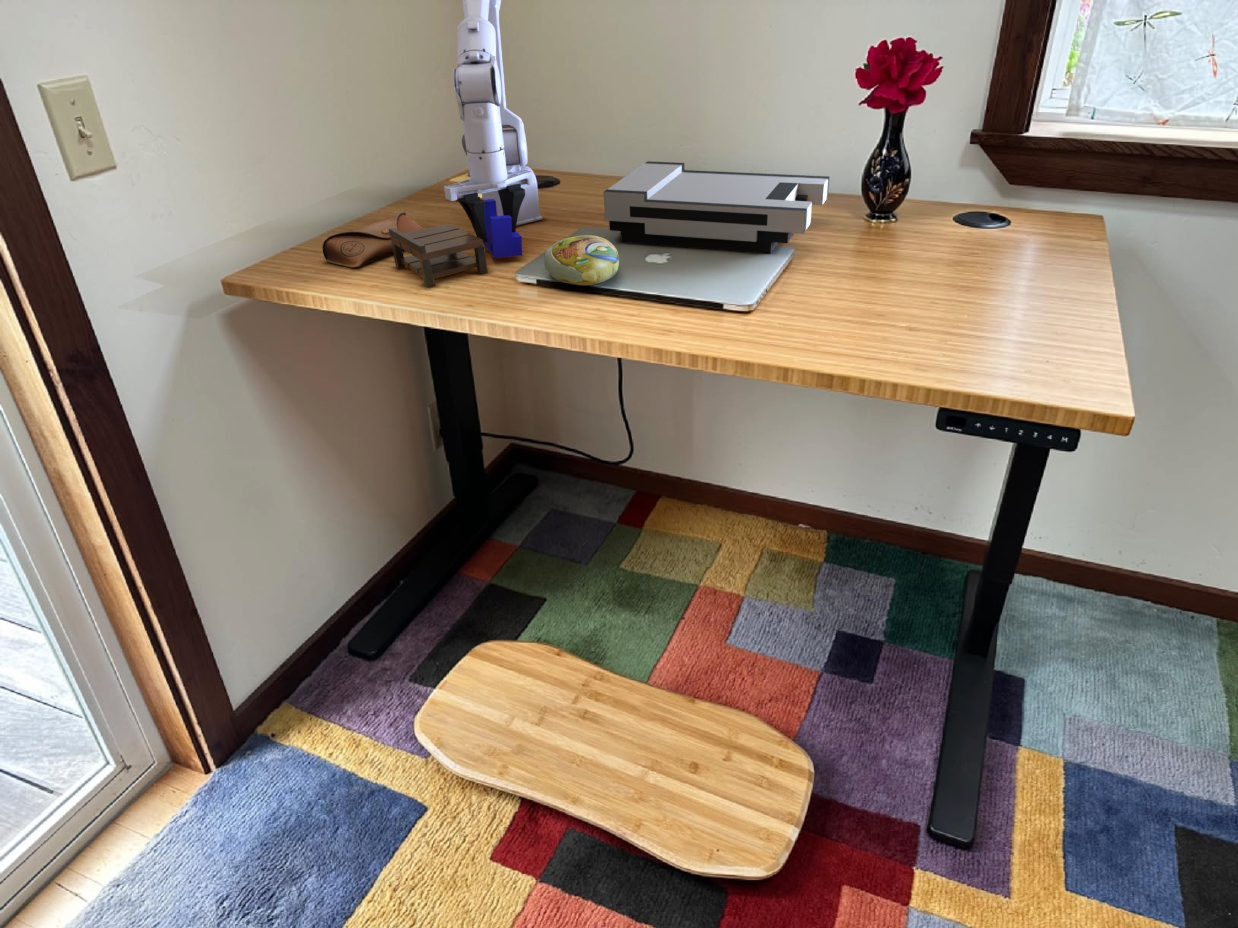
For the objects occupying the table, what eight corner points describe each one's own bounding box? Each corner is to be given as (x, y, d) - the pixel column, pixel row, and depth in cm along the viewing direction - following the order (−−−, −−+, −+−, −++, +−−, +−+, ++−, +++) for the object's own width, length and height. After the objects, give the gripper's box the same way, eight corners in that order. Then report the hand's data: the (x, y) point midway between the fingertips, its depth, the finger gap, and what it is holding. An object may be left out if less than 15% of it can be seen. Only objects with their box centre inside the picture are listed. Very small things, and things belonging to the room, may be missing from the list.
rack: (453, 253, 140) (447, 215, 137) (487, 272, 132) (482, 232, 128) (395, 267, 136) (388, 228, 132) (427, 288, 127) (420, 246, 124)
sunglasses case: (358, 267, 135) (335, 227, 134) (337, 282, 140) (316, 245, 139) (440, 235, 147) (421, 199, 146) (419, 251, 152) (400, 216, 151)
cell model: (620, 242, 133) (625, 233, 118) (612, 292, 135) (615, 290, 120) (551, 230, 133) (546, 220, 118) (543, 281, 134) (538, 277, 119)
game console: (802, 257, 131) (805, 203, 126) (606, 242, 141) (603, 191, 137) (826, 218, 147) (830, 169, 143) (648, 208, 158) (647, 161, 153)
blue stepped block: (522, 255, 135) (521, 217, 132) (494, 258, 134) (492, 219, 131) (504, 234, 145) (502, 198, 142) (477, 236, 144) (475, 200, 140)
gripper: (453, 162, 126) (466, 253, 133) (539, 145, 132) (547, 233, 140) (433, 154, 131) (447, 242, 138) (517, 138, 137) (526, 223, 145)
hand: (496, 237), depth 139 cm, fingers closed on blue stepped block, 4 cm apart
